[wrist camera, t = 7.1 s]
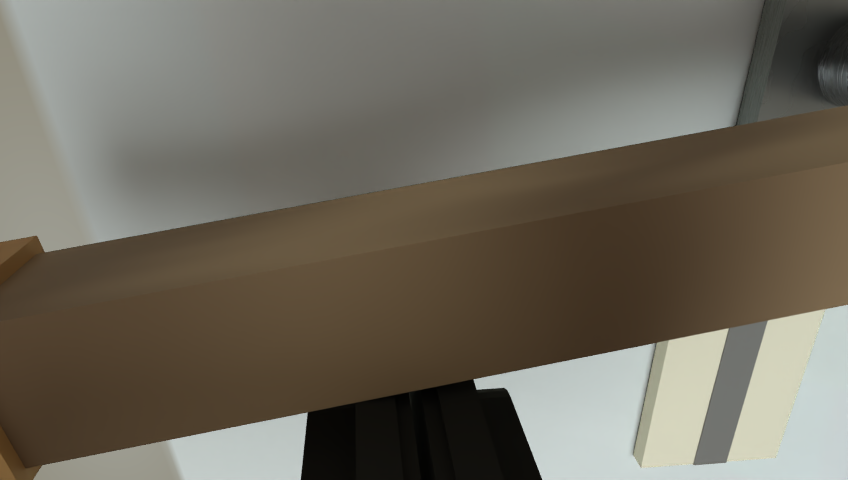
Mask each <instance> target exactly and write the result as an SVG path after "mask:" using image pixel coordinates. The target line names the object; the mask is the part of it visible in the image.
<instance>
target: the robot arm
mask: <svg viewBox="0 0 848 480" xmlns="http://www.w3.org/2000/svg"><path fill="white" fill-rule="evenodd" d="M301 480H542V478H541V475H540V473H539V470H538V468H537V465H536V462H535V460H534V457H533V455H532V452H531V449H530V447H529V444H528V441H527V439H526V436H525V434H524V431H523V428H522V426H521V423H520V421H519V418H518V415H517V413H516V410H515V407H514V405H513V402H512V400H511V397H510V395H509V393H508V391H507V390H506V389H505V388H497V389H482V390H476V387H475V383H474V380H473V379H472V380H467V381H462V382H457V383H452V384H447V385H442V386H437V387H432V388H427V389H422V390H417V391H412V392H407V393H402V394H397V395H392V396H387V397H382V398H377V399H372V400H367V401H362V402H355V403H352V404H346V405H341V406H336V407H331V408H326V409H321V410H316V411H311V412H308V416H307V426H306V435H305V445H304V455H303V465H302V474H301Z"/></svg>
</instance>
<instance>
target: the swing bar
mask: <svg viewBox="0 0 848 480" xmlns="http://www.w3.org/2000/svg"><path fill="white" fill-rule="evenodd" d="M843 305H848V105H847V106H842V107H836V108H831V109H825V110H820V111H814V112H809V113H804V114H798V115H793V116H787V117H782V118H776V119H771V120H765V121H760V122H754V123H749V124H744V125H738V126H733V127H727V128H722V129H716V130H711V131H705V132H700V133H694V134H689V135H684V136H678V137H673V138H667V139H662V140H656V141H651V142H645V143H640V144H634V145H629V146H624V147H618V148H613V149H607V150H602V151H596V152H591V153H585V154H580V155H574V156H569V157H564V158H558V159H553V160H547V161H542V162H536V163H531V164H525V165H520V166H514V167H509V168H504V169H498V170H493V171H487V172H482V173H476V174H471V175H465V176H460V177H454V178H449V179H444V180H438V181H433V182H427V183H422V184H416V185H411V186H405V187H400V188H394V189H389V190H384V191H378V192H373V193H367V194H362V195H356V196H351V197H345V198H340V199H334V200H329V201H323V202H318V203H313V204H307V205H302V206H296V207H291V208H285V209H280V210H274V211H269V212H263V213H258V214H253V215H247V216H242V217H236V218H231V219H225V220H220V221H214V222H209V223H203V224H198V225H193V226H187V227H182V228H176V229H171V230H165V231H160V232H154V233H149V234H143V235H138V236H133V237H127V238H122V239H116V240H111V241H105V242H100V243H94V244H89V245H84V246H78V247H73V248H67V249H62V250H56V251H51V252H44V250H43V248H42V246H41V243H40V241H39V239H38V237H37V236H32V237H27V238H21V239H16V240H10V241H5V242H0V480H33V479H34V477H35V476H36V474H37V472H38V471H39V469H40V468H41V466H42V465H45V464H50V463H55V462H60V461H65V460H70V459H76V458H80V457H86V456H90V455H95V454H100V453H106V452H111V451H116V450H121V449H125V448H130V447H136V446H140V445H146V444H151V443H156V442H161V441H166V440H171V439H176V438H181V437H186V436H191V435H196V434H201V433H206V432H211V431H216V430H221V429H226V428H231V427H236V426H241V425H246V424H251V423H256V422H261V421H266V420H271V419H276V418H281V417H286V416H291V415H296V414H301V413H306V412H311V411H316V410H321V409H326V408H331V407H336V406H341V405H346V404H352V403H355V402H362V401H367V400H372V399H377V398H382V397H387V396H392V395H397V394H402V393H407V392H412V391H417V390H422V389H427V388H432V387H437V386H442V385H447V384H452V383H457V382H462V381H467V380H472V379H477V378H482V377H487V376H492V375H497V374H502V373H507V372H512V371H517V370H522V369H527V368H532V367H537V366H542V365H547V364H552V363H557V362H562V361H567V360H572V359H577V358H582V357H587V356H592V355H597V354H602V353H607V352H612V351H617V350H622V349H628V348H633V347H638V346H643V345H648V344H653V343H658V342H663V341H668V340H673V339H678V338H683V337H688V336H693V335H698V334H703V333H708V332H713V331H718V330H723V329H728V328H733V327H738V326H743V325H748V324H753V323H758V322H763V321H768V320H773V319H778V318H783V317H788V316H793V315H798V314H803V313H808V312H813V311H818V310H823V309H828V308H833V307H838V306H843Z"/></svg>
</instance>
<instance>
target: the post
mask: <svg viewBox="0 0 848 480" xmlns="http://www.w3.org/2000/svg"><path fill="white" fill-rule="evenodd" d="M847 105H848V0H765V4H764V9H763V13H762V17H761V22H760V26H759V30H758V34H757V39H756V43H755V47H754V52H753V56H752V60H751V65H750V69H749V73H748V77H747V82H746V86H745V90H744V95H743V99H742V103H741V108H740V112H739V116H738V121H737V125H736V126H738V125H744V124H749V123H754V122H760V121H765V120H771V119H776V118H782V117H787V116H793V115H798V114H804V113H809V112H814V111H820V110H825V109H831V108H836V107H842V106H847Z"/></svg>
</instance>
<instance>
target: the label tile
mask: <svg viewBox="0 0 848 480" xmlns="http://www.w3.org/2000/svg"><path fill="white" fill-rule="evenodd" d="M824 312H825V309H823V310H818V311H813V312H808V313H803V314H798V315H793V316H788V317H783V318H778V319H773V320H768V321H763V322H758V323H753V324H748V325H743V326H738V327H733V328H728V329H723V330H718V331H713V332H708V333H703V334H698V335H693V336H688V337H683V338H678V339H673V340H668V341H663V342H658V343H657V344H656V349H655V354H654V359H653V363H652V368H651V373H650V378H649V383H648V387H647V392H646V397H645V402H644V406H643V411H642V416H641V421H640V426H639V430H638V435H637V440H636V445H635V449H634V454H633V456H634V457H635V459H636V461H637V462H638V464H639V465H640V467H641V468H647V467H661V466H674V465H687V464H693V465H702V464H715V463H726V462H727V461H740V460H753V459H766V458H776V456H777V453H778V450H779V447H780V444H781V441H782V438H783V435H784V432H785V429H786V426H787V423H788V420H789V417H790V414H791V411H792V408H793V405H794V402H795V399H796V396H797V393H798V390H799V387H800V384H801V381H802V378H803V375H804V372H805V369H806V366H807V363H808V360H809V357H810V354H811V351H812V348H813V345H814V342H815V339H816V336H817V333H818V330H819V327H820V324H821V321H822V318H823V315H824Z"/></svg>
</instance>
